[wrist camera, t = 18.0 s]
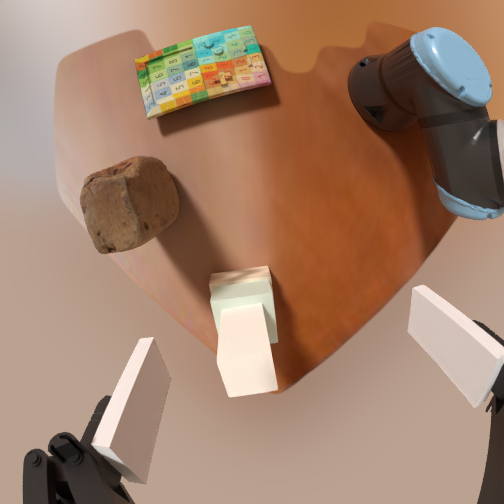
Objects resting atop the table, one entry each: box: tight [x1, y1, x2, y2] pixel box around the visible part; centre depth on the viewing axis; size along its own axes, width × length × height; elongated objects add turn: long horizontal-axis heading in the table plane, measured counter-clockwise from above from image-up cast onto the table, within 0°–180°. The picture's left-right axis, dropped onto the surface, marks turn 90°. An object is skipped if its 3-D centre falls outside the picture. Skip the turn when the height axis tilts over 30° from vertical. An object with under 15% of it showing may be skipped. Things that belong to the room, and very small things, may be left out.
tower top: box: [210, 279, 278, 344], centre depth 43 cm, size 9×9×5 cm
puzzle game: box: [135, 26, 272, 120], centre depth 36 cm, size 12×5×20 cm
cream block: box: [217, 303, 278, 397], centre depth 34 cm, size 6×6×12 cm
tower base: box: [209, 266, 277, 327], centre depth 47 cm, size 10×10×5 cm
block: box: [80, 156, 180, 254], centre depth 34 cm, size 11×8×20 cm
